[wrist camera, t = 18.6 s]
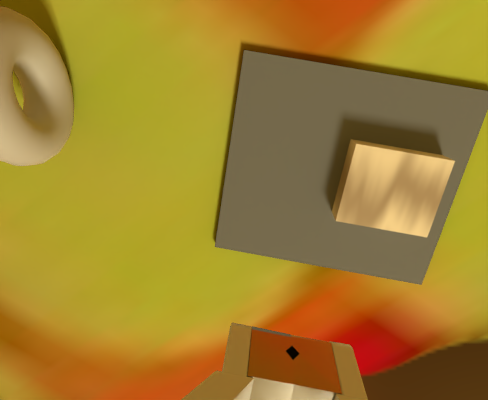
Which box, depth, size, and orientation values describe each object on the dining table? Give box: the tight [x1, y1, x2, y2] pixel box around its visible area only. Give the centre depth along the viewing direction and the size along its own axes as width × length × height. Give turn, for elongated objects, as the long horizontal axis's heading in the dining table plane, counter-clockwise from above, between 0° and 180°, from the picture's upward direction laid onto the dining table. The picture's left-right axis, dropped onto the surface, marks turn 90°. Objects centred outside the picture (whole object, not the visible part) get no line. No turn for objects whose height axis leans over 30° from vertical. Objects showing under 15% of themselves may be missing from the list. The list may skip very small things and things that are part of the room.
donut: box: [0, 6, 74, 166], centre depth 24 cm, size 10×3×10 cm, turn 3°
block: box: [332, 139, 455, 237], centre depth 27 cm, size 6×2×7 cm
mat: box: [215, 50, 488, 285], centre depth 28 cm, size 16×18×1 cm
